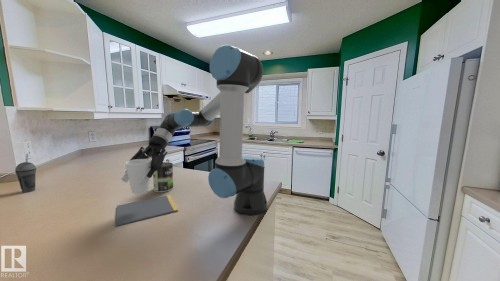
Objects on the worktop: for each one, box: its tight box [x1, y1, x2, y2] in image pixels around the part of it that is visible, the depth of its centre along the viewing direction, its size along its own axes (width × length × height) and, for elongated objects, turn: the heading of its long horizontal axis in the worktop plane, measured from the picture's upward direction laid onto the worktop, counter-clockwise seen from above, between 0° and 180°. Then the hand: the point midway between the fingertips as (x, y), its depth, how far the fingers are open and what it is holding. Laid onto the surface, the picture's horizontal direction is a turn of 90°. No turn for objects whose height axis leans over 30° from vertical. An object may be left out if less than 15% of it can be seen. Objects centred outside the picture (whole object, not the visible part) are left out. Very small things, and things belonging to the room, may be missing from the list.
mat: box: [115, 194, 179, 227], centre depth 83 cm, size 18×22×1 cm
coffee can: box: [152, 161, 175, 193], centre depth 105 cm, size 10×10×14 cm
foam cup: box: [125, 158, 152, 195], centre depth 81 cm, size 10×9×13 cm
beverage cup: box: [14, 153, 37, 194], centre depth 99 cm, size 7×7×20 cm
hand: (132, 182), depth 78 cm, fingers closed on foam cup, 9 cm apart
